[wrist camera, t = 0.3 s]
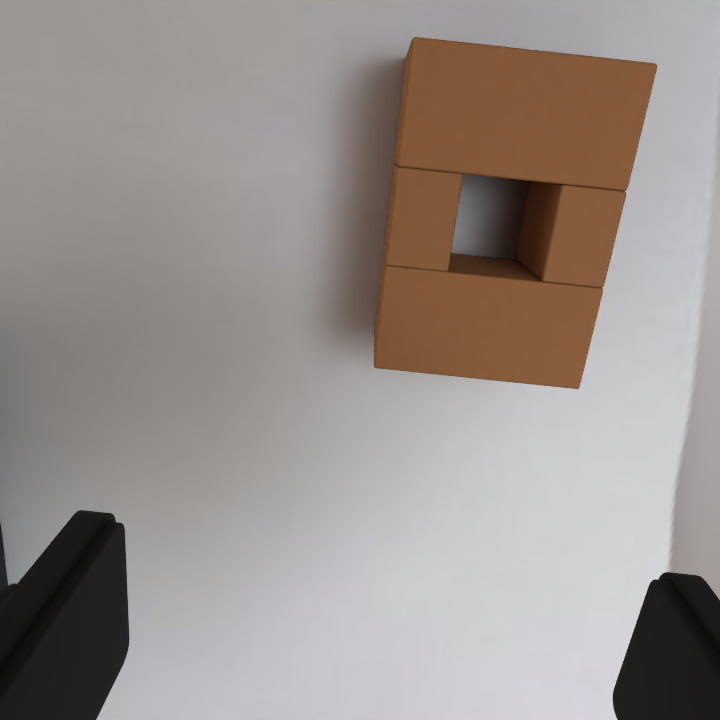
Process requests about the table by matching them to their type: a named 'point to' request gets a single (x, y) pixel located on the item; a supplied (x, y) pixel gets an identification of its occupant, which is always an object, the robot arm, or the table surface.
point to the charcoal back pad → (2, 566)
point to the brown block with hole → (541, 216)
